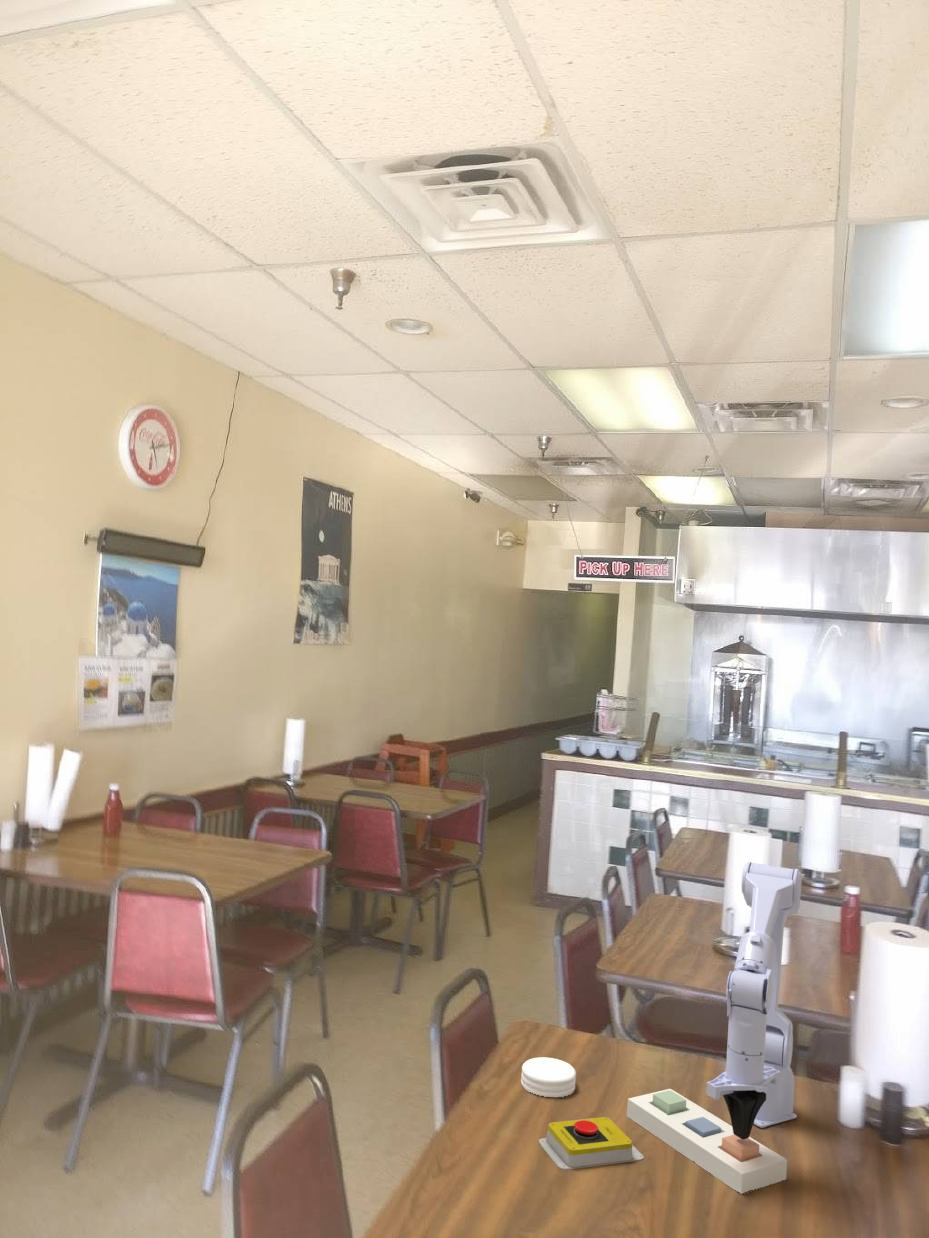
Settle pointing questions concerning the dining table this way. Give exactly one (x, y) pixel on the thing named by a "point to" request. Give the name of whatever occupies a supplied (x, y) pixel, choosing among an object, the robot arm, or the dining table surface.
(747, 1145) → the terracotta button
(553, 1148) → the emergency button
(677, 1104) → the sage-green button
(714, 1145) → the button panel
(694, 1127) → the slate-blue button
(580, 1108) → the dining table surface
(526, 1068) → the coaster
